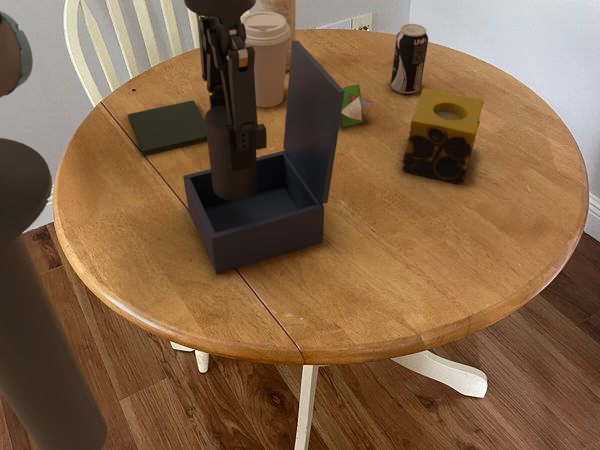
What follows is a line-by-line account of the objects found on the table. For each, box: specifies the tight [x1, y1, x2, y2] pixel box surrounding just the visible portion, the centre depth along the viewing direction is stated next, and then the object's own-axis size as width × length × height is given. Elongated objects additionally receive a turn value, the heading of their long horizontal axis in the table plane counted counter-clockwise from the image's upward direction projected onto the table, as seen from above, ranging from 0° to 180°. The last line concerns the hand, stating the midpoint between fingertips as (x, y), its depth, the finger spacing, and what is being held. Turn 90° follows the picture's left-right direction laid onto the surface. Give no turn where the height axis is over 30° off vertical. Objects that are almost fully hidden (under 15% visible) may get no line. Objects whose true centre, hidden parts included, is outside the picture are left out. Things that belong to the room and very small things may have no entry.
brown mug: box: [204, 103, 268, 201], centre depth 75 cm, size 7×6×11 cm
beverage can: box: [390, 23, 429, 95], centre depth 108 cm, size 6×6×12 cm
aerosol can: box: [258, 0, 297, 73], centre depth 112 cm, size 7×7×20 cm
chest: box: [182, 150, 325, 275], centre depth 82 cm, size 16×14×7 cm
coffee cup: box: [240, 11, 291, 108], centre depth 105 cm, size 10×10×15 cm
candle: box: [401, 87, 485, 185], centre depth 93 cm, size 10×10×10 cm
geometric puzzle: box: [340, 83, 374, 128], centre depth 102 cm, size 7×7×8 cm
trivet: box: [127, 100, 207, 157], centre depth 102 cm, size 12×12×1 cm
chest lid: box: [282, 39, 345, 205], centre depth 76 cm, size 16×14×1 cm
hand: (232, 152), depth 74 cm, fingers closed on brown mug, 6 cm apart
